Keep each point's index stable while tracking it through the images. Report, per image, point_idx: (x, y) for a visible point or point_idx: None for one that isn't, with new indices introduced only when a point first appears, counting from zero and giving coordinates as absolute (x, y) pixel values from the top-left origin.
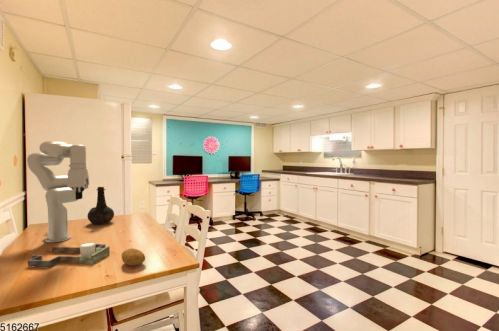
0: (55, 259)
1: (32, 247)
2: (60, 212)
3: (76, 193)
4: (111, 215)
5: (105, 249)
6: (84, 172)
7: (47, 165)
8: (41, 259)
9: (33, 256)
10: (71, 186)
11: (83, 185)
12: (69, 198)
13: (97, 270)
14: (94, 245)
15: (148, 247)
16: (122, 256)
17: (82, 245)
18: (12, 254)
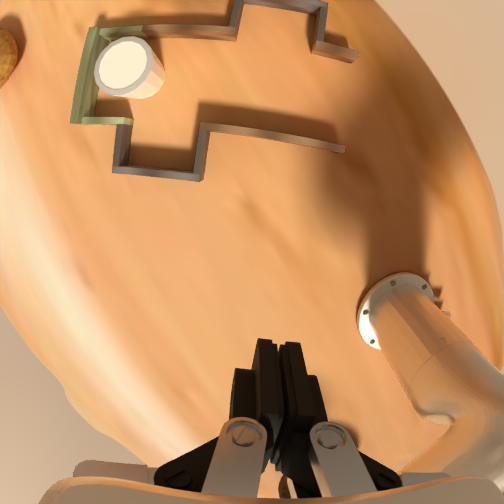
0: (232, 11)
1: (441, 222)
2: (435, 370)
3: (296, 403)
4: (280, 485)
5: (75, 97)
6: None
7: None
8: (313, 48)
9: (347, 49)
10: (416, 489)
11: (52, 489)
12: (426, 463)
13: (74, 3)
14: (96, 70)
15: (4, 198)
16: (8, 41)
17: (140, 52)
18: (460, 151)
